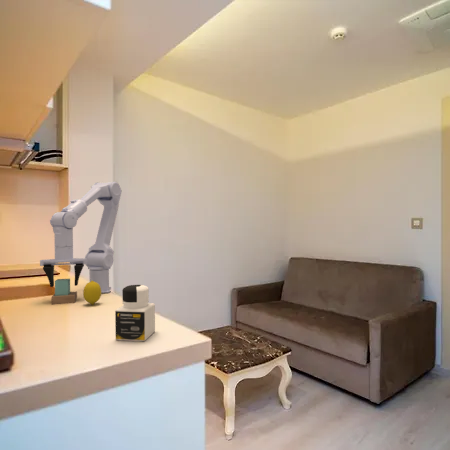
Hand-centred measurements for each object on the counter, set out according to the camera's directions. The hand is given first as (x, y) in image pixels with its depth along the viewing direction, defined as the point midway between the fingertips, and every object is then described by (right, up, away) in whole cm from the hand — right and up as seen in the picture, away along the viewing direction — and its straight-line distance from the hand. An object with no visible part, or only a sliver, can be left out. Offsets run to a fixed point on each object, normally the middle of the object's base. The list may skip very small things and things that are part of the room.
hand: (64, 285), depth 115 cm
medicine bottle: (+34, -6, -35) cm, 50 cm away
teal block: (-1, -3, 0) cm, 3 cm away
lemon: (+12, -6, -5) cm, 14 cm away
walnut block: (0, -6, 0) cm, 6 cm away
